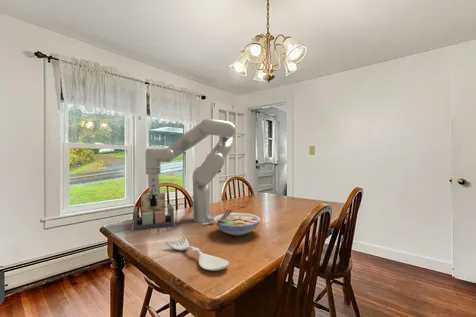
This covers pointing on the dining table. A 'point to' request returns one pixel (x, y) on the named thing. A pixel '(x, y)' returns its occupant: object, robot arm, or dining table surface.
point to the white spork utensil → (201, 256)
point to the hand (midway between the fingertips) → (153, 205)
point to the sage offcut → (147, 218)
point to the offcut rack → (138, 221)
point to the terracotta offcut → (159, 217)
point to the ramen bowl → (236, 223)
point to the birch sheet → (147, 208)
